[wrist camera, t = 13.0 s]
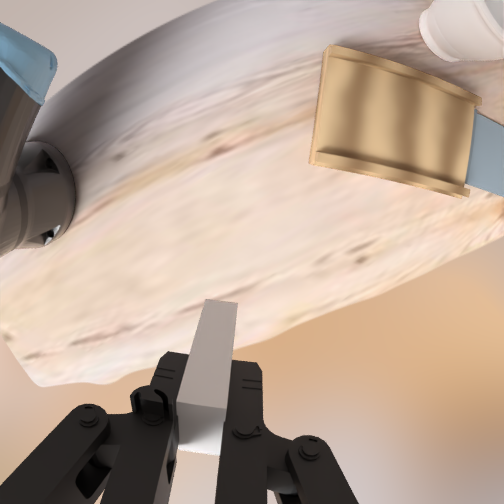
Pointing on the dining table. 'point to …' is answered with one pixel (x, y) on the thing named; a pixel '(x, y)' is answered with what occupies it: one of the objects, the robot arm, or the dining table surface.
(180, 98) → the dining table surface
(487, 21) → the jar
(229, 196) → the dining table surface
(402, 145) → the slide box
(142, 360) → the dining table surface
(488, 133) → the cover plate
